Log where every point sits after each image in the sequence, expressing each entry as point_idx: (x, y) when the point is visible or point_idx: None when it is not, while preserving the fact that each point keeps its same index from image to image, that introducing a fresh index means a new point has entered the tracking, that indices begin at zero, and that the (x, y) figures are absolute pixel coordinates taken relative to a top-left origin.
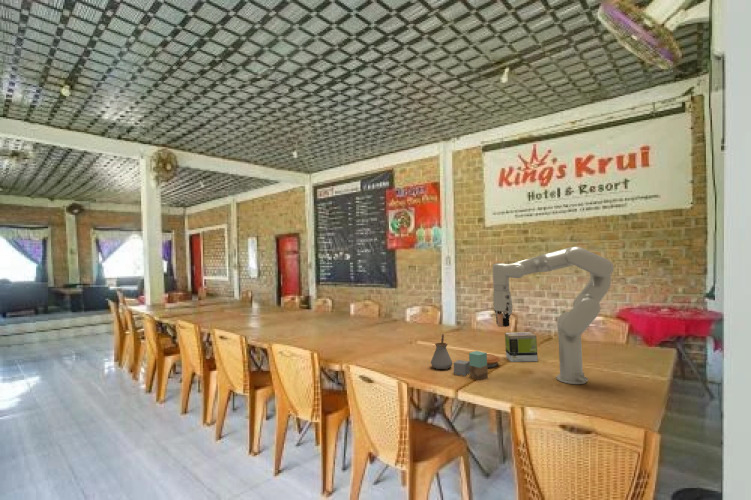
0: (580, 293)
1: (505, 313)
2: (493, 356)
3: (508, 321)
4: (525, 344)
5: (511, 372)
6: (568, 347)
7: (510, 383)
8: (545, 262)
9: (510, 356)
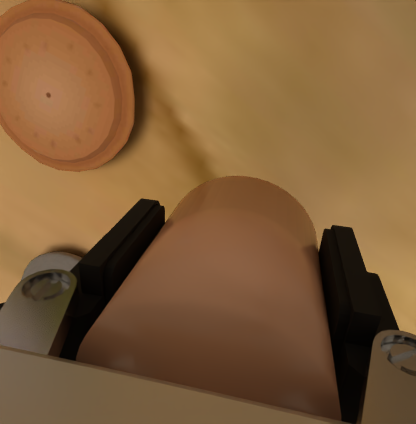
0: None
1: (165, 311)
2: (62, 45)
3: (385, 302)
4: None
5: (239, 42)
6: None
7: (376, 167)
8: None
9: None
